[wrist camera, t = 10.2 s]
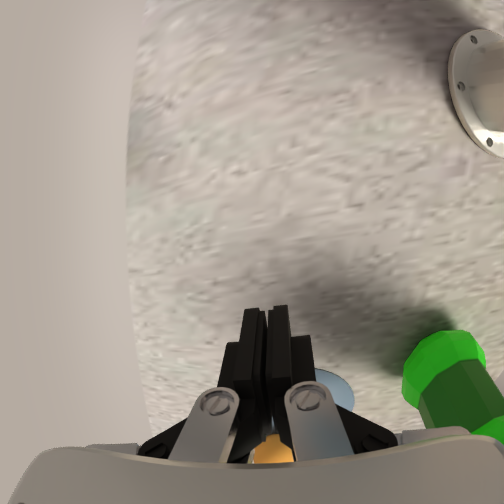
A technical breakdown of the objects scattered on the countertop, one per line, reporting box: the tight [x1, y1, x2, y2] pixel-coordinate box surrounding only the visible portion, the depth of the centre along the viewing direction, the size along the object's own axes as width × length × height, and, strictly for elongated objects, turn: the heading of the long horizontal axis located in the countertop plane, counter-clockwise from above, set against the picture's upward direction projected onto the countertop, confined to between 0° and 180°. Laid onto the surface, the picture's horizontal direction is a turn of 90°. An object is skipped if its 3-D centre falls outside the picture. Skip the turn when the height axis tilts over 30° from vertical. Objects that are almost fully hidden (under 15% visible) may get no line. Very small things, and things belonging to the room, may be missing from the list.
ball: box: [253, 434, 293, 464], centre depth 33 cm, size 6×6×6 cm
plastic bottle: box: [402, 330, 504, 445], centre depth 17 cm, size 10×10×25 cm
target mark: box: [266, 369, 354, 436], centre depth 33 cm, size 14×14×1 cm
